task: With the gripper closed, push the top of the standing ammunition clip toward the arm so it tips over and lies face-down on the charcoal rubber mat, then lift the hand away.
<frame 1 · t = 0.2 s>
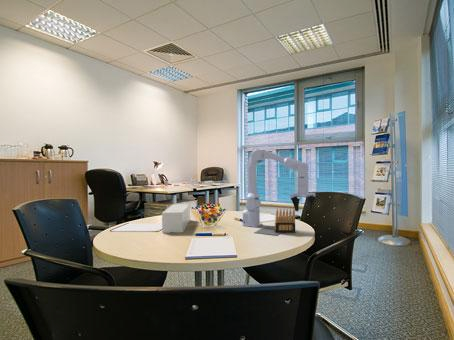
hand: (302, 210, 139), 10 cm above the table, tool pointing down, fingers open, 7 cm apart
ammunition clip: (284, 232, 133), on the table, touching rubber mat
light grey rectangular block: (177, 226, 151), on the table
rubber mat: (270, 230, 137), on the table
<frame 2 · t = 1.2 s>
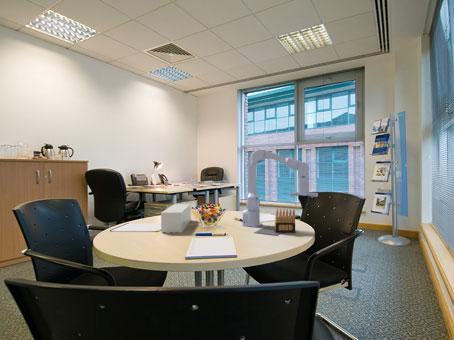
hand: (303, 209, 142), 10 cm above the table, tool pointing down, fingers closed
nothing on the table moved.
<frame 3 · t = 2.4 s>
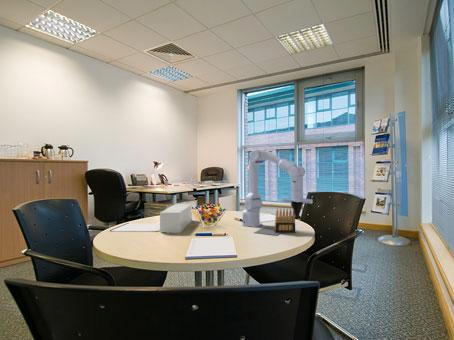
hand: (297, 217, 130), 9 cm above the table, tool pointing down, fingers closed
nothing on the table moved.
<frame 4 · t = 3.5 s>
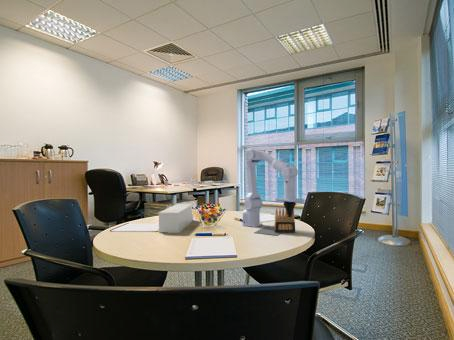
hand: (289, 216, 132), 8 cm above the table, tool pointing down, fingers closed
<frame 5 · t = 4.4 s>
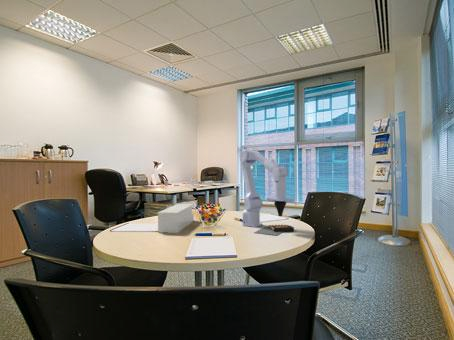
hand: (280, 215, 134), 8 cm above the table, tool pointing down, fingers closed
ammunition clip: (284, 229, 134), point 1 cm above the table, touching rubber mat
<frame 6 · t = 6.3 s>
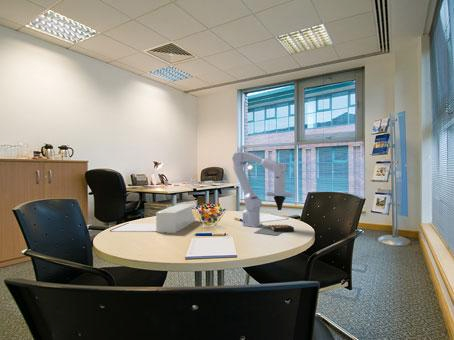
hand: (279, 209, 141), 10 cm above the table, tool pointing down, fingers closed
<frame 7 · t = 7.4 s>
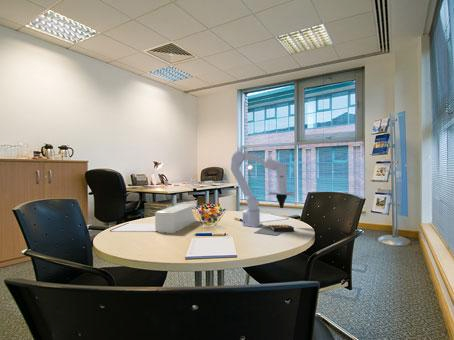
hand: (281, 207, 148), 10 cm above the table, tool pointing down, fingers closed
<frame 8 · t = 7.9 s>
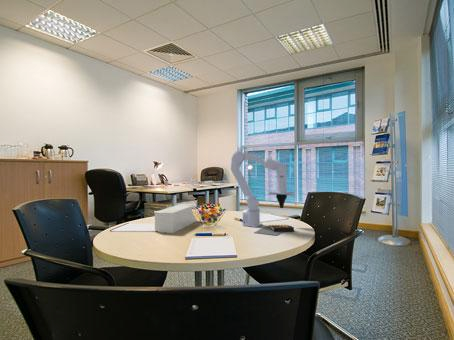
hand: (281, 207, 148), 10 cm above the table, tool pointing down, fingers closed
at the end: ammunition clip tilted 92°; ammunition clip touching rubber mat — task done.
